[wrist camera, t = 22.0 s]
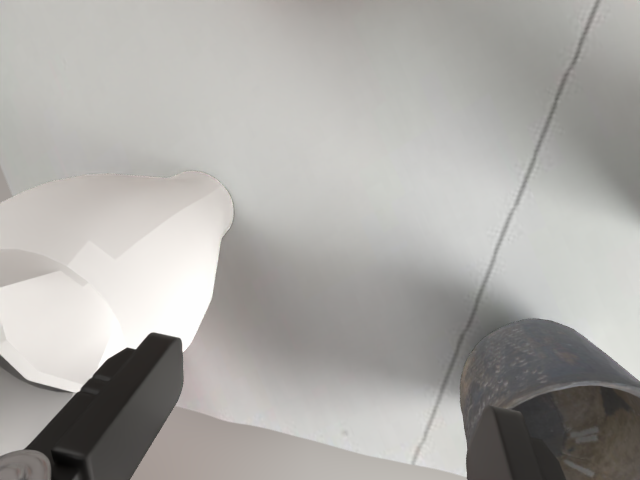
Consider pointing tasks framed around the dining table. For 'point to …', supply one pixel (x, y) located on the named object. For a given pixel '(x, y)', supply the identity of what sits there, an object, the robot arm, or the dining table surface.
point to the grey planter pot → (558, 396)
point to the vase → (98, 281)
